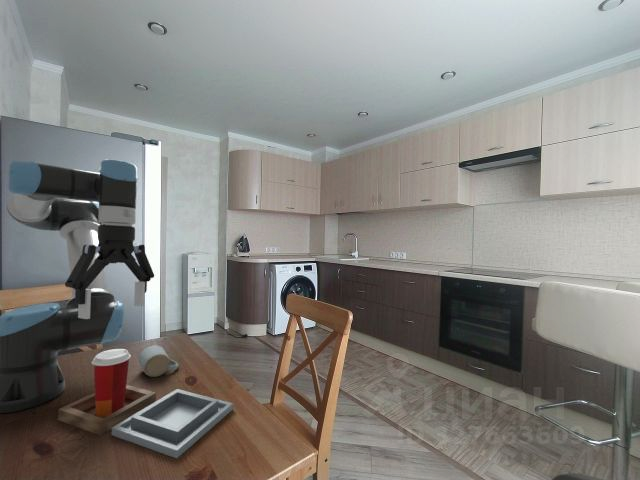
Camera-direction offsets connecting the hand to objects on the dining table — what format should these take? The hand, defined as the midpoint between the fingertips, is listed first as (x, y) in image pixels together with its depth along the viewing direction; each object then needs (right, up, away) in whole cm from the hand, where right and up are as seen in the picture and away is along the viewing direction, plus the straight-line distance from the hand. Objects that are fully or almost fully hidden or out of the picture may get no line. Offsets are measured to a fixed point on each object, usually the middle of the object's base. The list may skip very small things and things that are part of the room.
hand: (114, 311), depth 72 cm
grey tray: (+17, -25, -3) cm, 30 cm away
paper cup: (-1, -25, 0) cm, 25 cm away
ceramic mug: (-1, -25, +21) cm, 33 cm away
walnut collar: (-1, -24, 0) cm, 24 cm away
